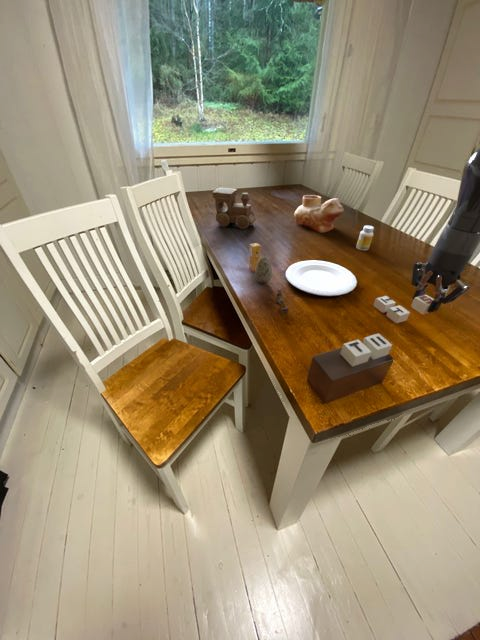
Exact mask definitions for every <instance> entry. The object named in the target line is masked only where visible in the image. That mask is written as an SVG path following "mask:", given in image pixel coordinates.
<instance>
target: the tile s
mask: <svg viewBox="0 0 480 640" xmlns="http://www.w3.org/2000/svg"><path fill="white" fill-rule="evenodd" d="M432 300H434V298H432V296H429V295H427V294H424V295H422V296H419V297H415V298H414V300H413V299H412V303H411V305H410V307H411V308H412V309H413V310H414V311H417V312H418V313H420V314H421V315H426V314H430V313H429V312H427V310H428V308H429V306H430V304H431V302H432Z"/></svg>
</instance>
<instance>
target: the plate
mask: <svg viewBox="0 0 480 640" xmlns="http://www.w3.org/2000/svg"><path fill="white" fill-rule="evenodd" d="M285 278H286V280H287V282H289V284H290V285H291V286H293V287H295V288H296V289H297V290H299V291H302V292H303V293H308V294H310V295H316V296H322V297H337V296H342V295H346V294H348V293H350V292H352V291H354V289H355V288H356V287H357V284H358V280H357V278H356V275H354V273H353V272H352V271H350V270H349V269H347V268H346V267H343V266H341V265H339V264H337V263H334V262H330V261H324V260H314V259H312V260H311V259H310V260H302V261H298V262H295V263H292V264H291V265H289V266H288V268H286V271H285Z"/></svg>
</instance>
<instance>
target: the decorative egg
mask: <svg viewBox="0 0 480 640" xmlns="http://www.w3.org/2000/svg"><path fill="white" fill-rule="evenodd" d="M272 276H273V266H272V262H271V260H270V259H269V257H267V256H262V257H260V260H259V261H258V263H257V266H256V269H255V271H254V277H255V279H256V281H257V282H258V283H259V284H267V283H269V282H270V280H271V279H272Z"/></svg>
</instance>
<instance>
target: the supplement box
mask: <svg viewBox="0 0 480 640" xmlns="http://www.w3.org/2000/svg"><path fill="white" fill-rule="evenodd" d="M248 245H249V246H248V247H249V251H248V252H249V258H248V259H249V263H248V265H249V270H250V271H251V272H252V273H254V272H255V269H256V266H257V263H258V261H259V260H260V259H261V251H262V250H261V249H262V248H261V247H262V245H261V244H259V243H258V242H255V243H250V244H248Z"/></svg>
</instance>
